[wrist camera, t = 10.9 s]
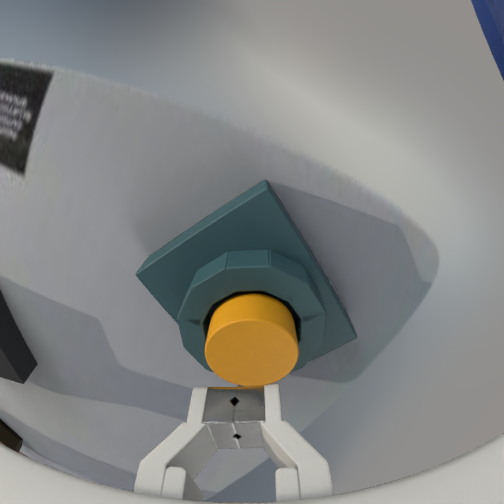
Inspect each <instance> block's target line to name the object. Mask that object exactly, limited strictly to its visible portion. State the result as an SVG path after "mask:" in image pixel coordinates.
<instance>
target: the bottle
mask: <svg viewBox="0 0 504 504" xmlns="http://www.w3.org/2000/svg"><path fill="white" fill-rule="evenodd" d="M22 441H23V439H22V438H20V437H19V436H18V435H17V434H16V433H15V432H13V431H12V430H11V429H10V428H9V427H8V426H7V425H6V424H4V423H3V422H2V421H1V420H0V444H2V445H4V446H6V447H8V448H10V449H12V450H14V451H16V452H19V450H20V448H21V446H22Z"/></svg>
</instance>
